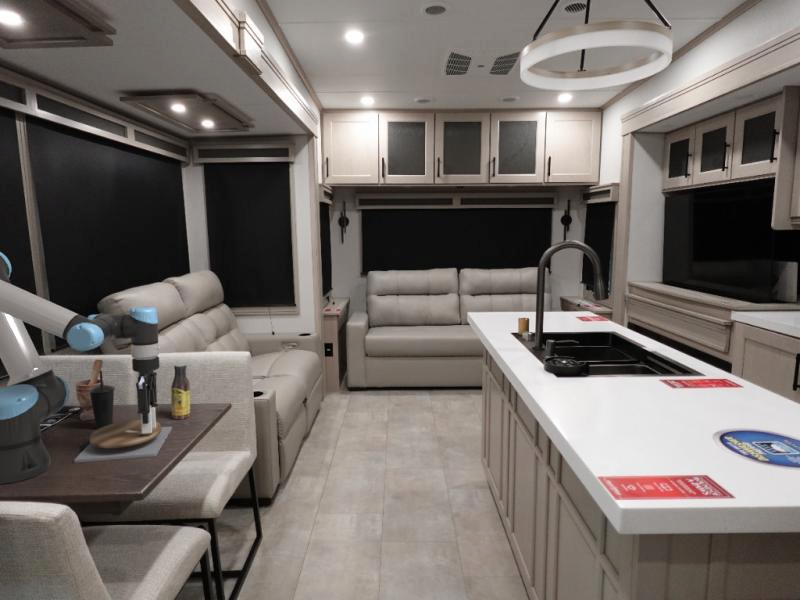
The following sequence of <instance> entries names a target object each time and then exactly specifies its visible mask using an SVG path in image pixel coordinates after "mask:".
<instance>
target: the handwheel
mask: <svg viewBox="0 0 800 600" xmlns="http://www.w3.org/2000/svg"><path fill="white" fill-rule="evenodd" d="M150 412H151V405H150ZM151 419H152V412H151ZM161 427H162V424H161V423H160V422H158V421H156V428H152V433H143V434H142V424H141V419H133V420H132V419H131V420H124V421H119V422H115V423H114V422H113V424H110V425H107V426H104V427H102V428H100V429H95V430H94V431H92V433H91V434H89V444H91V445H93V446H95V447H99V448H121V447H128V446H133V445H137V444H140V443H143V442H146V441H149V440H151V439H153V438H155V437H156V436H158V435H159V434H160V433H161Z"/></svg>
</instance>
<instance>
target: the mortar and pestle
mask: <svg viewBox="0 0 800 600" xmlns="http://www.w3.org/2000/svg"><path fill="white" fill-rule="evenodd" d="M103 365H104V361H103V359H95V360H94V362H93V366H92V373H91V378H90V379H85V380H81V381H78V382H76V383H75V390H76V391H75V392H76V399H77V401H78V404H79V405H80V406H81V407H82V408H83V410H82V412H81V413H80V414H79V419H80V420H81V421H83V422H84V421H91V420H95V418H94V412H93V407H92V401H91V396H90V393H89V390H90V389H92V388H94V387H96V386H99V385H101V384H100V378H99V377H100V371H102V368H103ZM103 385H105V383H104V380H103Z"/></svg>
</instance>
